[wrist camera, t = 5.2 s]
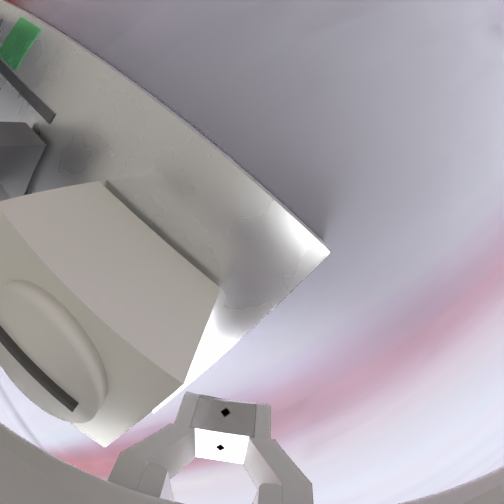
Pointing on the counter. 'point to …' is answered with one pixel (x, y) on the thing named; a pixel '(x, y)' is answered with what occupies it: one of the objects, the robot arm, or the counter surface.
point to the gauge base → (154, 175)
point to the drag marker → (18, 156)
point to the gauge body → (95, 308)
